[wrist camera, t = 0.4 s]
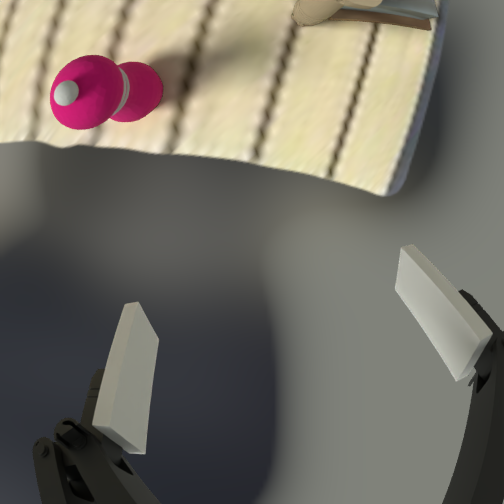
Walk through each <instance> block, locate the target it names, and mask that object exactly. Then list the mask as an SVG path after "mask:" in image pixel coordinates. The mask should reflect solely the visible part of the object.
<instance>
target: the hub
mask: <svg viewBox="0 0 504 504" xmlns="http://www.w3.org/2000/svg"><path fill="white" fill-rule="evenodd" d="M435 17H438V13H437V9H436V5H435V1H434V0H382V2H381V3H380V4H379V5H378V6H376V7H373V8H371V9H360V8H353V7H348V6H343V7H342V8H340V9H339V10H338V11H337V12H336V13H334V14H333V15H332V16H331V17H329V20H347V21H363V22H375V23H384V24H392V25H399V26H406V27H412V28H417V29H422V30H427V31H428V30H431V26H430V22H429V18H435Z"/></svg>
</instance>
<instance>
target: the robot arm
mask: <svg viewBox="0 0 504 504" xmlns="http://www.w3.org/2000/svg"><path fill="white" fill-rule="evenodd" d="M395 290H396V292H397V293H398V294H399V296H400V297H401V299H402V300H403V301H404V303H405V304H406V305H407V307H408V308H409V310H410V311H411V313H412V314H413V315H414V317H415V318H416V320H417V321H418V323H419V324H420V325H421V327H422V328H423V330H424V331H425V333H426V334H427V336H428V337H429V339H430V340H431V342H432V343H433V345H434V347H435V348H436V349H437V351H438V353H439V354H440V356H441V357H442V359H443V361H444V362H445V364H446V366H447V367H448V369H449V370H450V372H451V374H452V375H453V377H454V379H455V380H456V382H457V381H459V380H460V379H462V378H464V377H466V376H468V375H469V373H470V372H471V370H472V369H473V367H474V368H475V369H476V373H475V375H474V376H473V378H472V379H471V381H470V382H469V385H468V386H471V384H472V383H473V381H474V384H473V391H472V398H471V404H470V410H469V415H468V420H467V425H466V429H465V434H464V438H463V442H462V446H461V450H460V453H459V457H458V460H457V463H456V467H455V470H454V473H453V476H452V479H451V482H450V485H449V487H448V490H447V493H446V495H445V498H444V500H443V503H442V504H502V503H503V499H504V331H503V332H502V331H501V330H500V328H499V327H498V326H497V325H496V323H495V322H494V321H493V320H492V319H491V317H490V316H489V315H488V314H487V313H486V311H485V310H483V308H482V307H481V306H480V304H478V302H477V301H476V300H475V299H474V298H473V296H472V295H470V294H469V293H467V292H466V291H464V290H460V291H457V290H456V289H455V288H454V286H453V285H452V284H451V283H450V282H449V281H448V280H447V279H446V278H445V277H444V276H443V274H442V273H441V272H440V271H439V270H438V269H437V268H436V267H435V266H434V265H433V264H432V263H431V262H430V261H429V260H428V259H427V258H426V257H425V256H424V255H423V254H422V253H421V252H420V251H419V250H418V249H417V248H416V247H415V246H414V245H408V246H404V247H401V251H400V259H399V266H398V273H397V280H396V286H395ZM158 341H159V339H158V337H157V335H156V334H155V332H154V330H153V328H152V326H151V325H150V323H149V321H148V319H147V317H146V315H145V313H144V312H143V310H142V308H141V306H140V304H139V302H134V303H128V304H125V306H124V309H123V312H122V315H121V318H120V321H119V324H118V327H117V330H116V333H115V337H114V340H113V344H112V347H111V350H110V353H109V357H108V361H107V364H106V368H105V369H98V370H97V371H96V373H95V374H94V376H93V377H92V380H91V383H90V387H89V391H88V394H87V399H86V402H85V406H84V410H83V414H82V418H81V423H78V422H77V421H76V420H74V419H72V418H64V419H62V420H61V421H60V422H59V423H58V424H57V425H56V427H55V429H54V439H55V441H57V442H53V441H51V440H50V439H49V438H46V437H43V438H40V439H38V440H37V441H36V442H35V444H34V446H33V459H34V466H35V472H36V478H37V482H38V487H39V492H40V497H41V501H42V504H161V503H160V502H159V501H158V500H157V499H156V497H155V496H154V495H153V494H152V493H151V491H150V490H149V489H148V488H147V486H146V485H145V484H144V483H143V481H142V480H141V479H140V478H139V476H138V475H137V474H136V472H135V471H134V470H133V469H132V467H131V465H130V464H129V463H128V461H127V460H126V458H125V457H124V456H123V455H122V448H123V449H124V450H126V451H127V452H128V453H137V454H145V451H146V439H147V428H148V418H149V409H150V400H151V391H152V383H153V376H154V368H155V362H156V355H157V349H158Z"/></svg>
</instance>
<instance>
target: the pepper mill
mask: <svg viewBox="0 0 504 504" xmlns="http://www.w3.org/2000/svg"><path fill="white" fill-rule="evenodd" d="M162 94H163V85H162V81H161V79H160V78H159V76H158V75H157V73H156V72H155V71H154V70H153V69H152V68H151V67H150V66H148V65H146V64H144V63H140V62H126V63H122V64H120V65H116V64H115V63H114V62H113V61H112V60H110V59H108V58H106V57H103V56H99V55H87V56H83V57H79V58H77V59H75V60H73V61H71V62H70V63H68V64H67V65H66V66H65V67H64V68H63V69H62V70H61V71H60V72H59V73H58V75H57V76H56V78H55V80H54V82H53V85H52V88H51V93H50V104H51V109H52V111H53V114H54V116H55V117H56V119H57V120H58V121H59V122H60V123H61V124H63V125H65V126H66V127H69V128H71V129H77V130H82V129H90V128H94V127H96V126H98V125H100V124H102V123H103V122H105V121H107V120H108V119H109V118H111V119H112V120H115V121H118V122H133V121H136V120H139V119H141V118H143V117H145V116H146V115H147V114H149V113H150V112H151V111H152V110H153V109H154V108H155V107H156V106H157V105H158V104H159V102H160V100H161V98H162Z"/></svg>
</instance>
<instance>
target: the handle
mask: <svg viewBox="0 0 504 504" xmlns="http://www.w3.org/2000/svg"><path fill="white" fill-rule="evenodd" d="M381 2H382V0H298V1H297V2H296V4H295V6H294V10H293V13H292V15H291V18H292V19H294V20H295V21H296V22H297V24H298V25H299V26H302V27H303V26H305V25H310V26H312V25H315V24H318V23H320V22H322V21H324V20H326V19H328V18H329V17H331V16H332V15H333V14H334V13H336V12H337V11H338V10H339V9H340V8H342V7H343V6H348V7H353V8H360V9H371V8H373V7H376V6H378V5H379V4H380V3H381Z"/></svg>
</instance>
